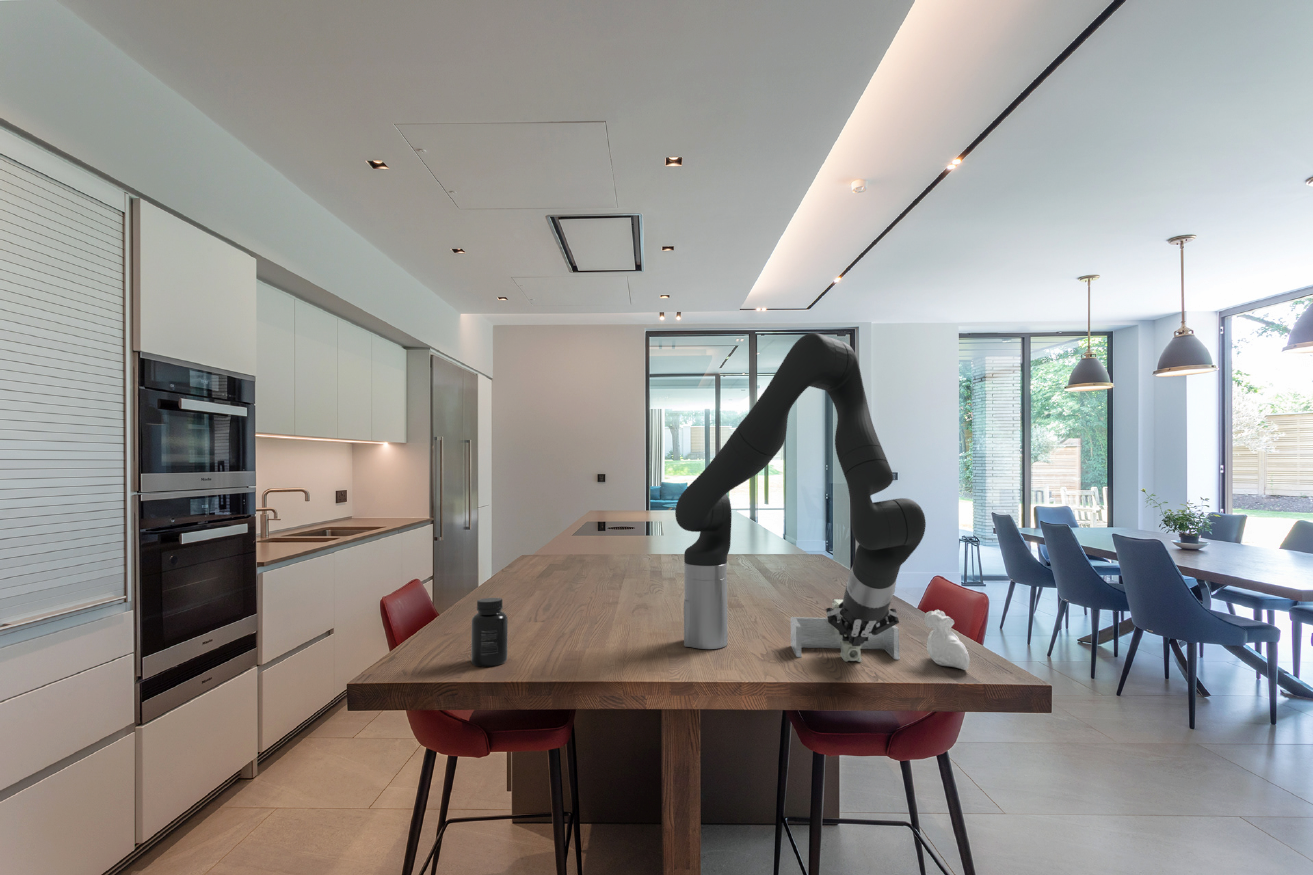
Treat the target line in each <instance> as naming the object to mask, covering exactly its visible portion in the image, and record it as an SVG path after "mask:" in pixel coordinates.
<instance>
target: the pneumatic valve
mask: <svg viewBox="0 0 1313 875" xmlns="http://www.w3.org/2000/svg"><path fill="white" fill-rule="evenodd" d="M842 602H843V598H832V603H831V608H832V609H834V610H835V609H838V608H839V605H840V603H842ZM842 617H843V616H842ZM843 618H844V617H843ZM844 619H845V618H844ZM845 620H846V619H845ZM846 621H847V620H846ZM847 622H848V621H847ZM848 623H849V622H848ZM833 628H834V630H835V631H836V633H837V634H838V635H839V636H840V637H841V639H842V640H840V644H841V648H840V653H839V655H840V657H841V659H843V661H844V662H846V663H847V662H858V663H861V662H862V659H863V658H862V657H861V655H862V654H861V653H862V651H861V645H860V646H852V644H850V643H849V641H848V636H847V635H848V634H847V635H843V634H842V633H841V632H839V631H838V630H837V629H836V628H835V627H834V626H833ZM865 641H868V636H866V638H865Z"/></svg>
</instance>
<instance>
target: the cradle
mask: <svg viewBox="0 0 1313 875" xmlns="http://www.w3.org/2000/svg"><path fill="white" fill-rule="evenodd" d="M876 625H877V627H879V626H880V623H878V624H876ZM840 640H842V639H841V637H840V636H839V635H838V634H837V633H836V631H835V630H834V628H833V626H832V625H831V624H830V623H829V622H828V618H827V617H817V616H815V617H807V616H806V617H803V616H790V647H791V649H792V650H793V653H794V655H795V657H796V658H802V648H809V649H811V648H813V649H816V648H818V649H819V648H820V649H841V644H840ZM861 649H862V650H863V649H865V650H885V652H887V653H888V655H889V656H890V657H891V658H892V659H893V660H897V661H898V660H900V659H901V658H900V629H899V627H898V626H897V625H894V626H892V627H890V628H889V629H887V630H885V631H883V632H881V633H879V634H877V635H872V634H871V633H870V634H868V641H864V643H863V644H861ZM861 649H860V650H861Z"/></svg>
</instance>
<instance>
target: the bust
mask: <svg viewBox="0 0 1313 875" xmlns="http://www.w3.org/2000/svg"><path fill="white" fill-rule="evenodd" d="M923 620H924V624H925V626H926V628H928V629H930V628H931V629H933V630H931V631H930V633H928V637H927V639H926V640H927V641H926V642H927V643H926V649H927V650H926V651H927V653H928V655H929V657H930V659H931V660H932V661H933V662H934V663H935V664H936V665H939V666H943V667H951V668H957V669H961V670H962V671H963V670H964V671H967V670H968V669H969V667H970V661H971V660H970V655H969V652H968V650H967V647H966V645H965V644H964V643H963V642H962V641H961V640H960V639H959V637H958V636H957V634H955V633H954V632H953V631H952V630H951V628H952V627H953V626H954V625H955V620H954V619H952V618H951V617H950V616H948V615H946V613H945V612H944V611H943V610H939V609H935V610H934V611H933V610H929V611H928V612H926V613H925V615H924V619H923Z"/></svg>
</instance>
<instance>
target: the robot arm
mask: <svg viewBox="0 0 1313 875" xmlns="http://www.w3.org/2000/svg"><path fill="white" fill-rule="evenodd" d="M809 387H811V388H815V389H819V390H821V391H822V390H823V391H826V393H827V394H828V396H829V397H830V400H831V401H832V403H833V405H834V408H835V410H836V415H837V418H836V419H837V421H836V422H837V423H836V427H835V428H836V429H835V435H834V446H835V451H836V455H837V456H836V457H837V460H838V462H839V465H840V467H841V470H842V473H843V475H844V478H845V481H846V485H847V488H848V495H849V503H850V524H851V525H850V526H851V531H852V535H853V537H854V539H855V541H856V542H857V544H858V546H857V548H856V551H855V555H854V558H853V559H854V560H853V562H852V566H851V568H850V570H849V573H848V577H847V582H846V585H845V589H844V594H843V598H842V599H843V602H842V603H840V605H839V608H838V609H835V610H834V609H833V607H827V608H826V609H825V612H826V618H828V622H829V623H830V624H831V625H832V626H834V627H835V628H836V629H837V630H838V631H839V632H841V633H842V634H843V635H847V634H848V635H847V636H848V641H849V643H850V644H852V646H860V645H861V644H863V643H864V641H865V638H866V636H868V634H870V633H871V634H872V635H877V634H879V633H881V632H883V631H885V630H887V629H889V628H890V627H892V626H894V625H895V626H897V625H898V624H899V623H900V620H899V616H898V613H897V609H896V608H890V606H891V601H892V599H893V595H894V594H895V592H896V585H897V578H898V575H899V572H900V569H901V567H902V565H903V564H904V563H905V562H906V561H907V560H908V559H909V558H910V556H911V555H912V554H913V553H914V551H915V550H916V549H917V548H918V547H919V545H920V543H921V541H922V540H923V538H924V535H925V531H926V525H927V524H926V517H925V516H926V515H925V513H924V511H923V509H922V507H921V506H920V505H919V503H917V502H916V501H914V500H912V499H910V498H902V497H900V498H893V499H886V500H881V501H875V502H873V501H872V497H871V496H873V495H876V494H878V493H880V492H882V491H884V490H886V489H887V488H889V487H890V486H891V484H892V483H893V481H894V475H893V470H892V469H891V466H890V464H889V462H888V459H887V456H886V454H885V451H884V450H883V447H882V445H881V442H880V440H879V437H878V435H877V432H876V430H875V426H874V424H873V421H872V416H871V414H870V409H869V405H868V400H867V396H866V395H867V394H866V392H865V388H864V382H863V378H862V373H861V368H860V365H859V361H858V357H857V354H856V352H855V350H854V349H853V348H852V346H851V345H849V344H848V343H847V342H844V341H841V340H839V339H837V338H832V337H830V336H827V335H825V334H821V333H818V332H809V333H807V334H804V335H803V336H801V337H800V338H799V339H798V340H797V341H796V342H795V343H794V344H793V345H792V346H791V348H790V350H789V351H788V352H787V354H786V355H785V356H784V359H783V361H782V362H781V364H780V365H779V367H778V368H777V371H776V372H775V374H774V376H773V377H772V378H771V380H770V382H769V384H768V385H767V387H766V388H765V390H764V391H763V392H762V394H761V396H760V397H759V398H758V399H757V401H756V402H755V404H754V405H753V407H752V408H751V409H750V411H749V412H748V413H747V414H746V416H745V417H744V418H743V419H742V421H741V422H740V423H739V424H738V426H737V427H736V428H735V430H734V431H733V432H732V434H731V435H730V436H729V438H728V439H727V440H726V442H725V444H724V445H723V446H722V447H721V449H720V450H719V451H718V453H717V454H716V455H715V456H714V457H713V459H712V460H711V461H710V462H709V464H708V465H707V466H706V467H705V469H704V470H703V471H702V472H701V473H700V474H699V475H698V476H697V477H696V478H695V479H694V480H693V482H692V483H691V484H689V485H688V486H687V487H686V489H684V491H683V492H682V493H681V494H680V496H679V498H678V499H677V502H676V505H675V513H674V514H675V520H676V523H677V525H678V526H679V527H680V528H681V529H683V530H685V531H688V532H692V533H693V532H695V533H699V535H698V536H699V537H698V538H697V540H696V541H695V542H694V543H693V544H692V545H690V546H688V547H687V548H686V549H685V550H684V554H683V555H684V558H683V562H684V564H683V565H684V566H683V567H684V569H683V570H684V574H683V576H684V582H683V583H684V584H683V586H684V587H683V588H684V601H683V647H689V648H692V649H693V648H694V649H700V650H716V649H722V648H724V647H726V646H727V645H728V555H729V552H730V550H731V540H732V537H731V536H732V535H731V534H732V505H731V504H732V503H731V501H730V498H729V496H728V495H727V494H728V493H729V492H730V491H732V490H734V489H735V488H737V487H739V486H740V485H741V484H743V483H745V482H746V481H748V480H749V479H751V478H753V477H755V476H756V475H757V474H759V473H760V472H761V471H763V470H764V469H765V468H766V467H767V465H769V463H771V461H772V460H773V458H774V457H775V456H776V455H777V454H778V453H779V451H780V450H781V449H782V447H783V445H784V443H785V440H786V436H787V431H788V430H787V429H788V418H789V414H790V411H791V409H792V407H793V405H795V403H796V401H797V400H798V399H799V397H800V396H801V395H802V394H803V393H804V392H805V391H806V390H807V389H808V388H809ZM889 608H890V609H889ZM842 616H843V617H844V618H845V619H846V620H847V621H848V622H849V623H848V622H847V621H846V620H845V619H844V618H843V617H842ZM878 623H880V626H879V627H877V625H876V624H878Z"/></svg>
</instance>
